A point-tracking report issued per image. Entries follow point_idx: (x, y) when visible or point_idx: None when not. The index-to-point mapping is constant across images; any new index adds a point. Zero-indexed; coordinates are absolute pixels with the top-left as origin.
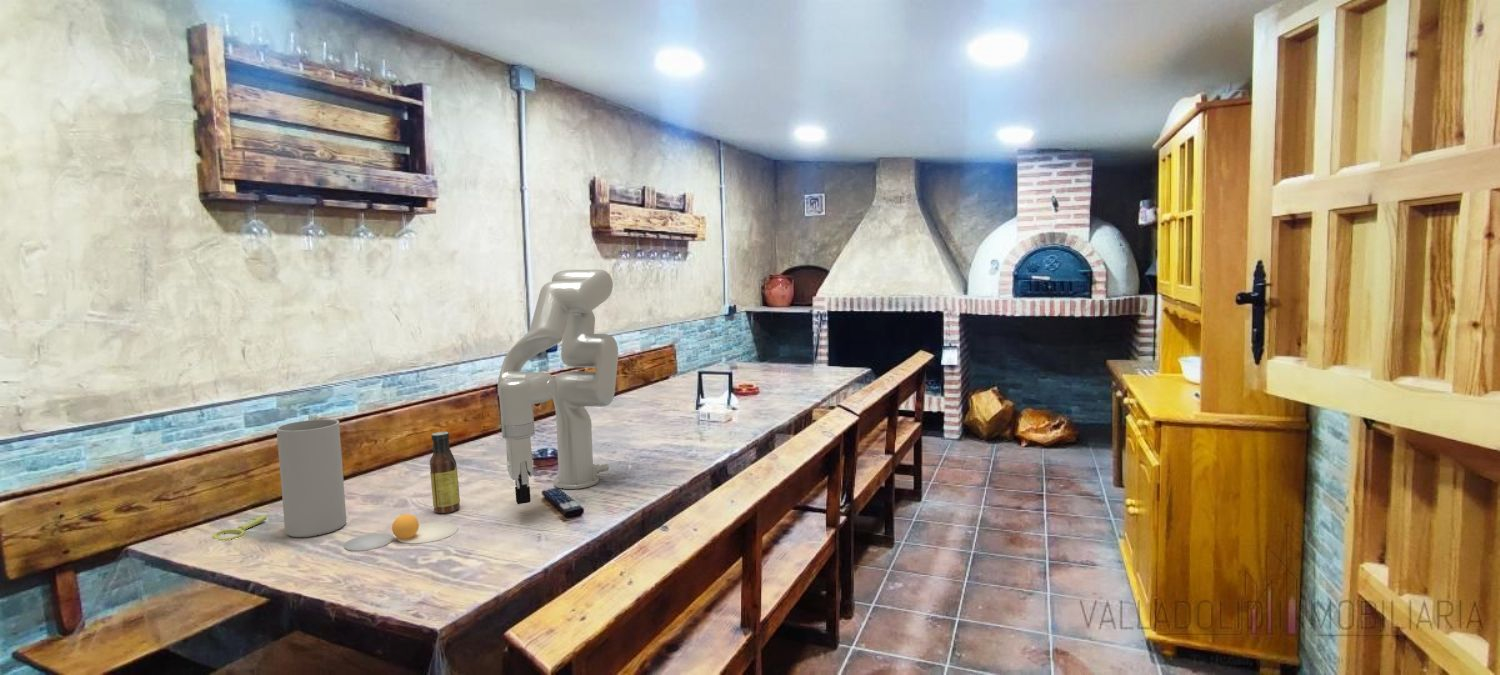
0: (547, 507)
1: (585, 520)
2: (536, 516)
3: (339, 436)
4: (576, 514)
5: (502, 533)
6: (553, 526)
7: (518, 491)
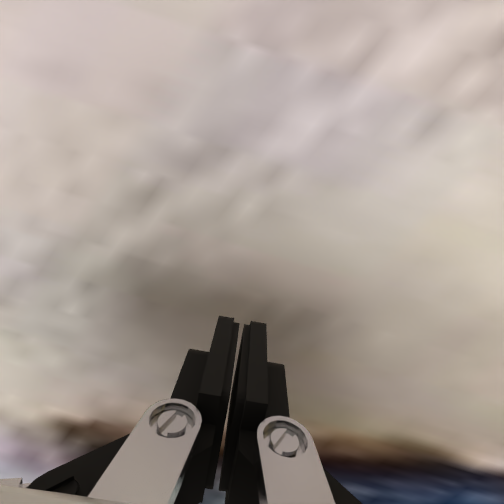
0: None
1: None
2: None
3: None
4: None
5: (22, 123)
6: (9, 368)
7: (199, 388)
